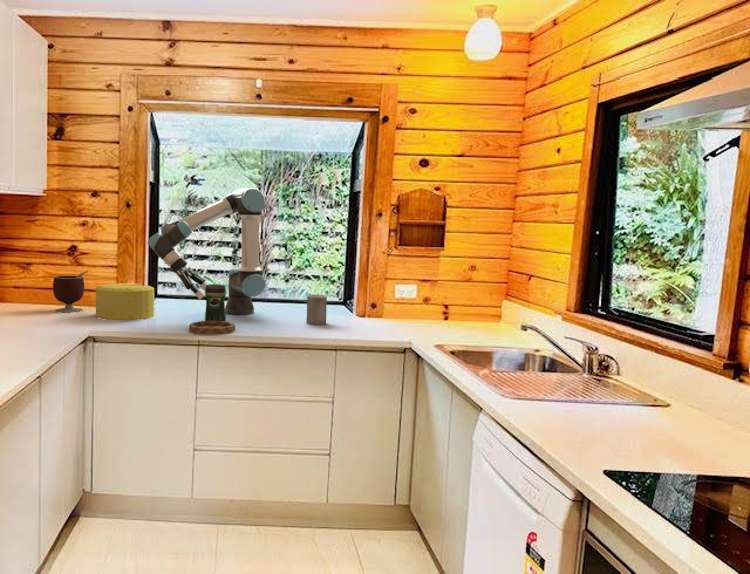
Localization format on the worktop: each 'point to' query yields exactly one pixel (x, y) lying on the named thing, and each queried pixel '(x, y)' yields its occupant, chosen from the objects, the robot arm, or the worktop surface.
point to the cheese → (124, 301)
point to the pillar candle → (316, 309)
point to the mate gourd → (68, 291)
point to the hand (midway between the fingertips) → (207, 295)
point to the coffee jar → (215, 303)
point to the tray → (212, 327)
